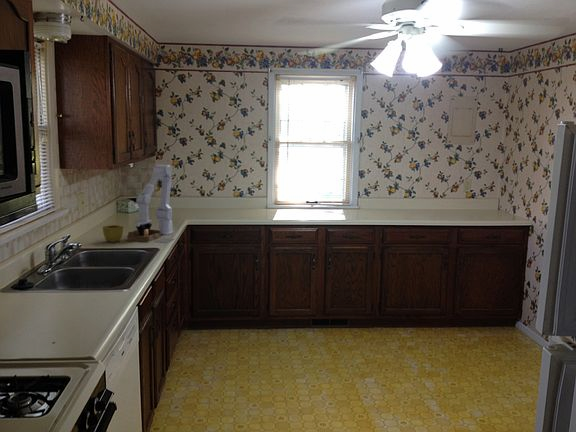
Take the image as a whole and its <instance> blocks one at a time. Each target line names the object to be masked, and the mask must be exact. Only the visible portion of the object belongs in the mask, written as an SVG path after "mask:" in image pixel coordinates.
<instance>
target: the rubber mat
mask: <svg viewBox="0 0 576 432" xmlns="http://www.w3.org/2000/svg"><path fill="white" fill-rule="evenodd" d="M174 240H176V238H167V237H163V238H159V239H156V240H153V243H159V242H160V243H162V244H166V243H169V242H172V241H174Z"/></svg>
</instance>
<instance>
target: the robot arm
mask: <svg viewBox="0 0 576 432" xmlns="http://www.w3.org/2000/svg"><path fill="white" fill-rule="evenodd" d="M152 171H153V173H152V175H151V178H150V180H149V182H148V183H147V184H145V185H144V188H143V189H142V191H141V192H140V194H139V195H137V197H136V199H135V201H136V203H137V207H138V220H137V222H136V223H135V228H136V230H138V232H139V235H140V236H144V230H145V228H147V229H148V235H149V231H150V230H151V227H152V226H153V224H152V221H153V220H152V219H150V218H149V216H150V215H149V204H150V203H151V198H152V194H153V193H154V191H155V185H156V184H157V182H158V181H159V179H160V178H161V180H162V183H161V192H160V193H161V194H160V204H159V205H158V206H156V211H155V213H154V214H155V218H156V220H157V221H158V230H161V235H165V236H168V235H171V234H173V233H174V230H173V228H174V227H173V224H174V223H173V221H172V218H173V215H174V214H173V208H172V207H171V206H170V198H171V197H170V196H171V187H172V179H173V178H172V176H173V168H172V167H171V165H169V164H158V163H157V164H155V165H154V167H153V169H152Z"/></svg>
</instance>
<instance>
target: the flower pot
mask: <svg viewBox="0 0 576 432" xmlns="http://www.w3.org/2000/svg"><path fill="white" fill-rule="evenodd" d="M123 230H124V226H121V225H118V224H112V225H105V226H103V225H102V231H103V236H104V239H105V240H106V242H110V243H115V242H120V240H121V239H122V237H123V232H124V231H123Z"/></svg>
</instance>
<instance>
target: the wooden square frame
mask: <svg viewBox="0 0 576 432" xmlns="http://www.w3.org/2000/svg"><path fill="white" fill-rule="evenodd" d="M127 233H128V234H127V235H126V237H127V238H126V240H127V241H133V242H134V241H135V242H143V241H144V242H145V243H149V241H150V242H152V241H156V240H159V239H162V234H161V230H159V229H150V231H149V235H148V237H147V236H140V235H139V232H138V230H137V229H134V230H131V231H129V232H127Z"/></svg>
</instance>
